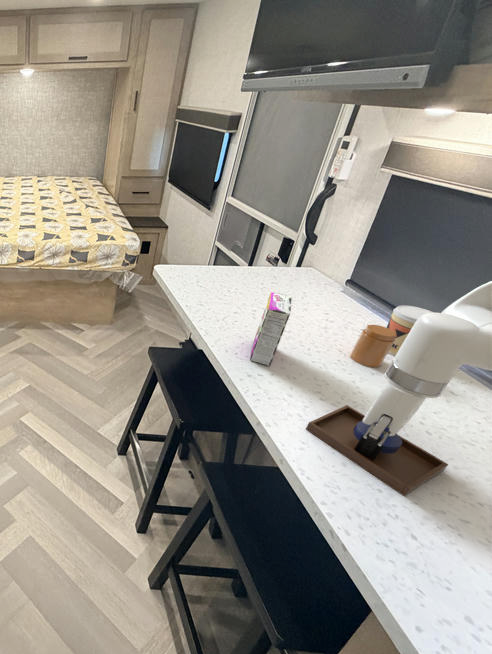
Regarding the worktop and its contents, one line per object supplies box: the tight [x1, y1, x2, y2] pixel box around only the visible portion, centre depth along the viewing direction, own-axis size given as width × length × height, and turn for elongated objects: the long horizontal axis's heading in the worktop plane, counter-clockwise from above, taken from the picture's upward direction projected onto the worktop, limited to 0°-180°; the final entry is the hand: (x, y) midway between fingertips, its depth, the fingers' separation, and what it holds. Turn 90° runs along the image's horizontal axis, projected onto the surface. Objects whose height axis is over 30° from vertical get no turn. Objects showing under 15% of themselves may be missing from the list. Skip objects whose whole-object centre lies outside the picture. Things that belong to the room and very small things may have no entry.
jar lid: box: [353, 421, 402, 453], centre depth 79 cm, size 7×7×2 cm
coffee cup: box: [385, 305, 433, 357], centre depth 107 cm, size 9×9×12 cm
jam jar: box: [349, 324, 396, 368], centre depth 104 cm, size 6×6×10 cm
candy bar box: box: [249, 291, 293, 367], centre depth 105 cm, size 11×5×16 cm, turn 145°
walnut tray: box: [305, 404, 449, 497], centre depth 80 cm, size 17×13×2 cm
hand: (371, 445), depth 80 cm, fingers closed on jar lid, 6 cm apart
